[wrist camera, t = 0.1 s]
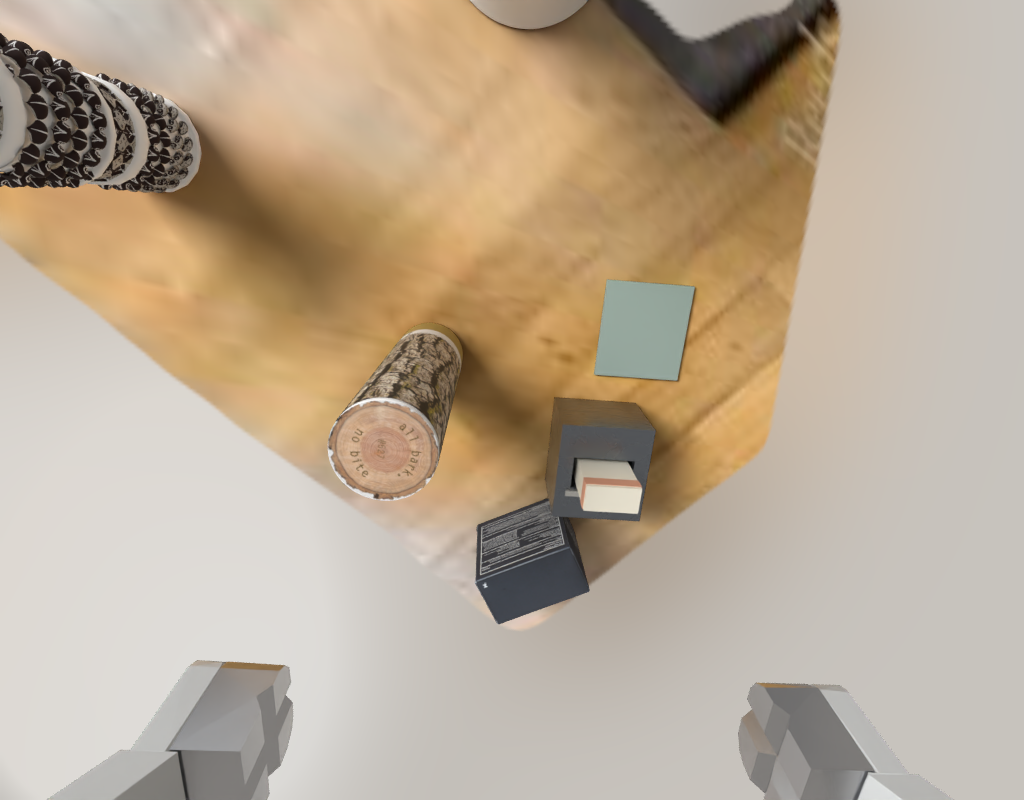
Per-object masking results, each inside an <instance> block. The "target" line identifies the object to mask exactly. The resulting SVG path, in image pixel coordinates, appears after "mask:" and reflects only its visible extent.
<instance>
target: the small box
mask: <svg viewBox="0 0 1024 800" xmlns="http://www.w3.org/2000/svg"><path fill="white" fill-rule="evenodd" d="M476 559H477V560H476V579H475V584H476V586H477V588H478V589H479V591H480V593H481V595H482V597H483V599H484V600H485V602H486V604H487V606H488V608H489V610H490V612H491V613H492V615H493V617H494V619H495V621H496V622H497V624H501V623H504V622H506V621H509V620H512V619H515V618H518V617H520V616H523V615H526V614H528V613H531V612H534V611H537V610H539V609H542V608H545V607H548V606H550V605H553V604H556V603H559V602H562V601H564V600H567V599H570V598H573V597H576V596H578V595H581V594H584V593H587V592H589V586H588V582H587V579H586V575H585V571H584V567H583V563H582V559H581V555H580V552H579V548H578V544H577V540H576V535H575V532H574V530H573V527H572V525H571V523H570V520H569V518H568V517H557V516H552V514H551V509H550V503H549V498H547V499H545V500H542V501H539V502H537V503H534V504H531V505H529V506H526V507H523V508H521V509H518V510H516V511H513V512H510V513H508V514H505V515H502V516H500V517H497V518H494V519H492V520H489V521H487V522H484V523H482V524H479V525H478V526H477V558H476Z"/></svg>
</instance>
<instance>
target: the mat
mask: <svg viewBox="0 0 1024 800" xmlns="http://www.w3.org/2000/svg"><path fill="white" fill-rule="evenodd" d="M694 289H695V287H694V286H682V285H670V284H657V283H644V282H632V281H619V280H607V282H606V289H605V297H604V304H603V312H602V319H601V326H600V334H599V341H598V349H597V356H596V363H595V371H594V374H595V375H606V376H620V377H634V378H648V379H662V380H676V381H677V379H678V373H679V368H680V363H681V358H682V352H683V347H684V342H685V336H686V331H687V326H688V320H689V315H690V310H691V305H692V299H693V294H694Z"/></svg>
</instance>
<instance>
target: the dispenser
mask: <svg viewBox="0 0 1024 800" xmlns="http://www.w3.org/2000/svg"><path fill="white" fill-rule="evenodd" d="M655 432H656V430H655V429H654V428H653V426H652V425H651V423H650V422H649V421H648V419H647V418H646V417H645V415H644V414H643V413H642V411H641V410H640V408H639V407H638V406H637V404H636V403H629V402H614V401H599V400H585V399H570V398H555V397H554V405H553V414H552V423H551V432H550V441H549V450H548V459H547V468H546V477H545V481H546V486H547V492H548V498H549V503H550V509H551V514H552V516H557V517H575V518H592V519H610V520H627V521H640V515H641V509H642V504H643V498H644V493H645V487H646V482H647V476H648V471H649V465H650V460H651V454H652V449H653V443H654V438H655ZM574 457H575V458H591V459H607V460H623V461H628V463H629V465H630V467H631V469H632V471H633V473H634V475H635V476H636V478H637V480H638V481H639V482H640V484H641V486H642V494H641V500H640V505H639V511H638V514H632V513H614V512H597V511H583V509H582V507H581V503H580V497H579V494H578V490H577V487H576V483H575V480H574V476H573V473H572V471H573V463H574Z"/></svg>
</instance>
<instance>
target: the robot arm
mask: <svg viewBox="0 0 1024 800" xmlns="http://www.w3.org/2000/svg"><path fill="white" fill-rule="evenodd" d="M470 1H471V2H472V3H473V4H474V5H475V6H476V7H477V8H478V9H479V10H480V11H481V12H483V13H484V14H485V15H487V16H488V17H490V18H491V19H493V20H495V21H497V22H499V23H501V24H504V25H507V26H510V27H514V28H520V29H538V28H544V27H548V26H551V25H554V24H557V23H559V22H561V21H563V20H565V19H567V18H568V17H570V16H571V15H573V14H574V13H575V12H577V11H578V10H579V9H580V8H581V7H582V6H583V5H584V4H585V3H586V2H587V1H588V0H470ZM290 683H291V679H290V670H289V667H287V666H285V665H271V664H256V663H241V662H217V661H200V660H197V661H195V662H194V663H193V664H191V665H190V666H189V667H188V668H187V669H186V670H185V672H184V673H183V675H182V676H181V678H180V679H179V680H178V682H177V683H176V685H175V686H174V688H173V689H172V691H171V692H170V694H169V695H168V696H167V698H166V699H165V701H164V702H163V704H162V705H161V707H160V708H159V709H158V711H157V712H156V714H155V715H154V717H153V718H152V719H151V721H150V722H149V724H148V725H147V727H146V728H145V729H144V731H143V732H142V734H141V735H140V737H139V738H138V740H137V741H136V743H135V744H134V746H133V747H132V748H131V750H120V751H118V752H117V753H115V754H114V755H112V756H111V757H109V758H108V759H106V760H105V761H103V762H102V763H100V764H99V765H97V766H96V767H94V768H93V769H91V770H90V771H89V772H87V773H85V774H84V775H82V776H81V777H80V778H78V779H77V780H75V781H74V782H72V783H71V784H69V785H68V786H66V787H65V788H63V789H62V790H60V791H59V792H57V793H56V794H54V795H53V796H51V797H50V798H48V799H47V800H267V798H268V796H269V783H268V776H269V775H270V774H272V773H273V772H274V771H275V770H276V769H277V768H278V767H280V765H281V763H282V760H283V758H284V755H285V752H286V750H287V747H288V743H289V738H290V734H291V730H292V722H293V703H292V701H291V700H290V699H289V698H288V697H287V696H286V692H287V690H288V688H289V685H290ZM747 700H748V702H749V704H750V706H751V708H752V710H751V711H750V712H748V713H747V714H746V715H745V716H744V717H743V718H742V719H741V724H740V728H739V732H738V736H739V750H740V754H741V757H742V761H743V765H744V767H745V769H746V772H747V774H748V776H749V778H750V780H751V781H752V782H753V783H754V784H755V785H756V786H758V787H759V788H760V789H761V790H762V791H763V792H764V793H765V796H764V800H953V799H952V798H951V797H949V796H948V795H947V794H945V793H944V792H942V791H940V789H938V788H937V787H935V786H934V785H932V784H931V783H930V782H928V781H927V780H925V779H924V778H922V777H921V776H920V775H917V774H909V773H908V772H907V770H906V769H905V767H904V766H903V765H902V763H901V762H900V761H899V759H898V758H897V757H896V755H895V754H894V753H893V751H892V750H891V749H890V747H889V746H888V745H887V743H886V742H885V741H884V739H883V738H882V737H881V735H880V734H879V732H878V731H877V730H876V728H875V727H874V726H873V724H872V723H871V722H870V720H869V719H868V718H867V717H866V715H865V714H864V712H863V711H862V710H861V708H860V707H859V706H858V704H857V703H856V702H855V700H854V699H853V697H852V696H851V695H850V694H849V692H848V691H847V690H846V689H844V688H843V687H841V686H840V685H815V684H812V685H808V684H785V683H782V684H781V683H755V684H754V685H753V686H752V687H751V688H750V691H749V695H748V698H747Z"/></svg>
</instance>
